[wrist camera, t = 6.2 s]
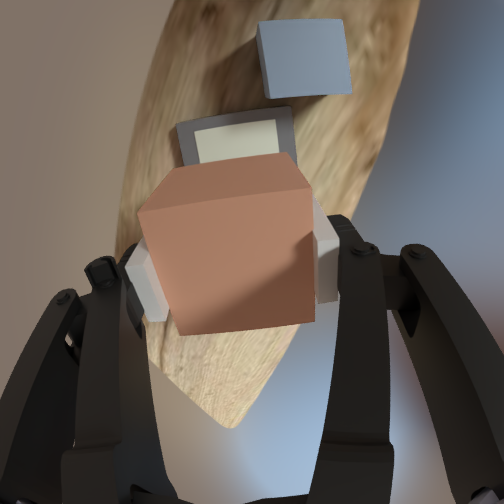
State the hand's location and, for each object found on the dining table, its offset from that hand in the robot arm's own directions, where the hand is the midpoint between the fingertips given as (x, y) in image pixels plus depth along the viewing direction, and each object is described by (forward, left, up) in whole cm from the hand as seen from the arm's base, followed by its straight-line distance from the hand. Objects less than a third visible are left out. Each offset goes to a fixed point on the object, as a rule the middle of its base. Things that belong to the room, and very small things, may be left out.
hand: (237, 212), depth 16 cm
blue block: (-6, -9, -13) cm, 16 cm away
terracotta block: (0, 0, 0) cm, 0 cm away
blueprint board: (0, 0, -12) cm, 12 cm away
